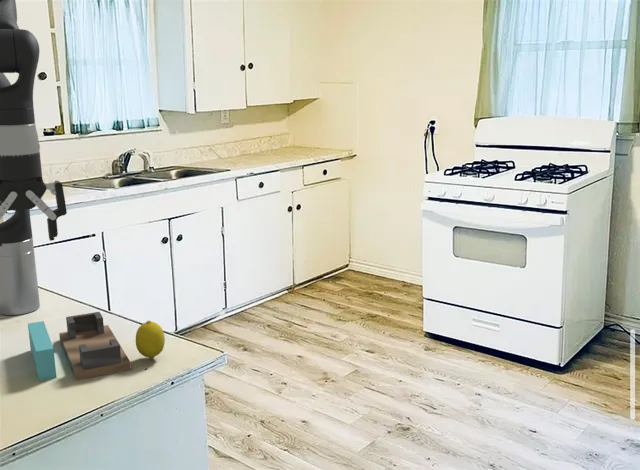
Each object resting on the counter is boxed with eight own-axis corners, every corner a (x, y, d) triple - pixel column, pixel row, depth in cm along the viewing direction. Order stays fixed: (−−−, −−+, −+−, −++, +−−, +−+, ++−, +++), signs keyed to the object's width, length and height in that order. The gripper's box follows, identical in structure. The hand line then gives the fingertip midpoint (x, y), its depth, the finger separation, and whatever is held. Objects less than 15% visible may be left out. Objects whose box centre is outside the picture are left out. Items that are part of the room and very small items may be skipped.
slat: (30, 351, 139) (27, 323, 138) (46, 348, 141) (43, 320, 139) (39, 381, 125) (35, 351, 124) (56, 378, 127) (53, 348, 125)
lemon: (151, 367, 131) (148, 327, 129) (130, 360, 134) (128, 322, 132) (171, 357, 135) (169, 319, 133) (151, 351, 138) (149, 313, 136)
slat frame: (59, 339, 144) (57, 317, 143) (108, 331, 149) (106, 309, 148) (75, 380, 125) (73, 354, 124) (131, 369, 130) (129, 344, 129)
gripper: (57, 146, 123) (65, 233, 127) (-32, 150, 117) (-20, 242, 121) (62, 150, 117) (71, 242, 121) (-31, 155, 110) (-19, 252, 114)
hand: (25, 242), depth 121 cm, fingers open, 8 cm apart
